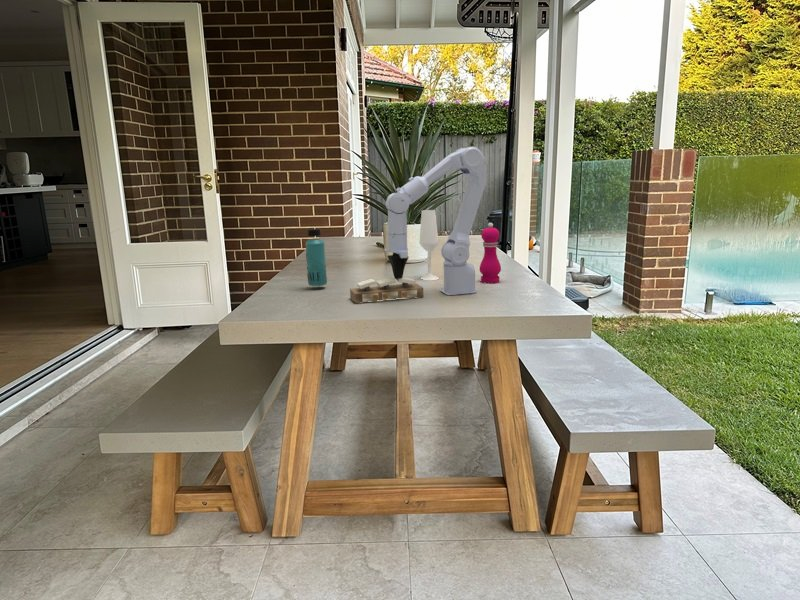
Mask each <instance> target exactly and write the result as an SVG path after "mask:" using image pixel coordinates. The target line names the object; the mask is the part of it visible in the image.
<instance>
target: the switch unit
mask: <svg viewBox="0 0 800 600" xmlns="http://www.w3.org/2000/svg"><path fill="white" fill-rule="evenodd" d="M349 294H350V296H349V297H351V298H350V299H351V300H352V302H353V301H354V302H355V303H360V302H368V301H377V300H386V299H396V298H413V299H416V298H415V297H424V287H423V286H421V285H419V284H418V283H416V282H415V284H410V283H402V282H401V283H400V284H399V283H398V284H389V285H386V286H382V287H379V286H378V285H376V286H368V287H365V288H362V289H360V288H359V287H354V288H353V287H352V288H349ZM354 302H353V303H354ZM355 303H354V304H355ZM360 304H361V303H360Z"/></svg>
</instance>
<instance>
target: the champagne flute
mask: <svg viewBox="0 0 800 600" xmlns="http://www.w3.org/2000/svg"><path fill="white" fill-rule="evenodd" d="M436 215H437V213H436V209H425V210H423V209H422V210H421V215H420V216H421V217H420V228H419V245H420V247H421V248H422V249H423V250H424V251H425V252H427V273H426V274H424V275H423V276H422V277H420V278H421V279H423V280H422V281H435V280H439V279H440V277H438V276H436V275H435V274H433V273H432V251H434V250H435V249H436V248H437V246H438V244H439V235H438V224H437V216H436ZM421 279H420V280H421Z"/></svg>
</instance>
